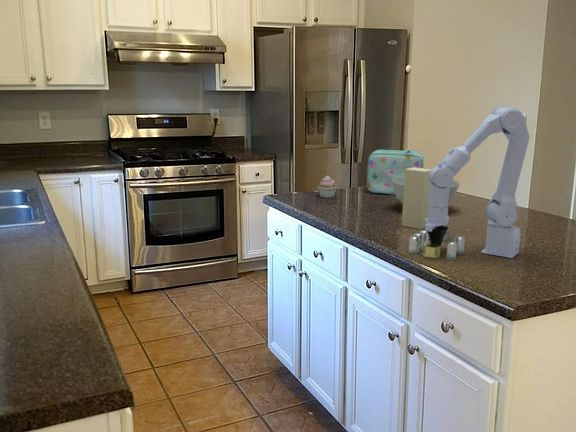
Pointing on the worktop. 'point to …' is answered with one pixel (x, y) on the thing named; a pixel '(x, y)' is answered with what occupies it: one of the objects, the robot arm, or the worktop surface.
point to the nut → (431, 250)
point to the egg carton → (444, 235)
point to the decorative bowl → (399, 188)
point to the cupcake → (327, 187)
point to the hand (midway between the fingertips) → (435, 249)
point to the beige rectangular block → (416, 197)
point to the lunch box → (390, 168)
